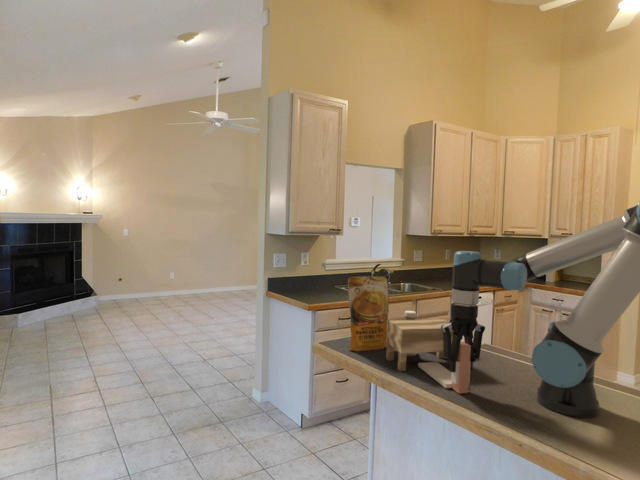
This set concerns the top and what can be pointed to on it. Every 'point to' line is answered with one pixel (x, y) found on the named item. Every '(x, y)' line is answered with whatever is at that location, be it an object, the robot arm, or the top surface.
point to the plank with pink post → (445, 375)
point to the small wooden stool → (414, 338)
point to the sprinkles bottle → (410, 315)
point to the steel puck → (411, 354)
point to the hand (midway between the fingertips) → (460, 381)
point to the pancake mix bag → (368, 312)
